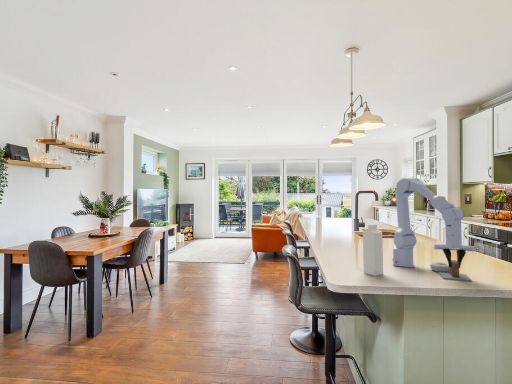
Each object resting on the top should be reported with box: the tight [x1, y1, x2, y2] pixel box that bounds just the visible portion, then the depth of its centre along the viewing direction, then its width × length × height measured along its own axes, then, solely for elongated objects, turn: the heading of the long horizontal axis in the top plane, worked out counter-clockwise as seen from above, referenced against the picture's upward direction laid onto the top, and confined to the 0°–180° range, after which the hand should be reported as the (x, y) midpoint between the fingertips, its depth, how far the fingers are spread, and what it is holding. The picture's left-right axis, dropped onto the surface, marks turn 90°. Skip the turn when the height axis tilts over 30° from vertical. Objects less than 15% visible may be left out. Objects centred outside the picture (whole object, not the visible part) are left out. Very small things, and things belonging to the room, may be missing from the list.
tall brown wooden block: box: [450, 259, 460, 278], centre depth 125 cm, size 2×6×6 cm, turn 155°
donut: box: [429, 261, 450, 273], centre depth 136 cm, size 10×4×10 cm
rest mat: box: [438, 272, 473, 282], centre depth 125 cm, size 10×10×1 cm
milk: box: [362, 224, 384, 277], centre depth 133 cm, size 6×6×22 cm
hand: (454, 267), depth 125 cm, fingers open, 2 cm apart
